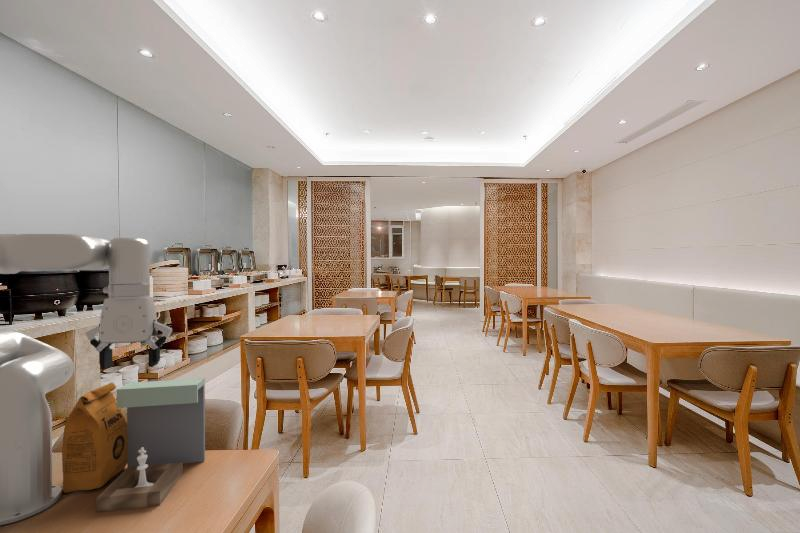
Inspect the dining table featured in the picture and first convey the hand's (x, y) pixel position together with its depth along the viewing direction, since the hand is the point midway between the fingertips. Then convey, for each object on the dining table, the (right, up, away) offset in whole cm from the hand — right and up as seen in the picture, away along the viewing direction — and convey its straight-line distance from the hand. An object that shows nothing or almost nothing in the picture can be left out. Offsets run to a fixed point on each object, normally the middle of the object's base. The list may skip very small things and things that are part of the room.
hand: (130, 366), depth 84 cm
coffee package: (-11, -29, +5) cm, 31 cm away
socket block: (+3, -28, -1) cm, 28 cm away
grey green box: (+2, -28, +9) cm, 30 cm away
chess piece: (+3, -29, -1) cm, 29 cm away
